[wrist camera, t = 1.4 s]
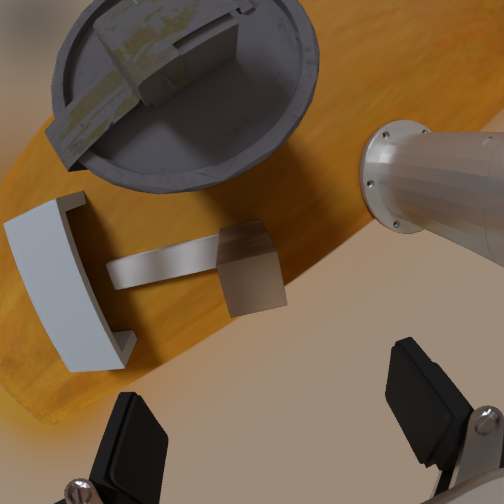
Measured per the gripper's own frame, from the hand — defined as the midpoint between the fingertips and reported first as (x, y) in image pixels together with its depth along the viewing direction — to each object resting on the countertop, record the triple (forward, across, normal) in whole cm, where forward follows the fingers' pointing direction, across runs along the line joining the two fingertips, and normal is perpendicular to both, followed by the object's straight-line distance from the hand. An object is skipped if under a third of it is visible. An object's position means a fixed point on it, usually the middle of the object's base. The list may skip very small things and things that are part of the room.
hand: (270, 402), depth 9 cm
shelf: (+20, +19, 0) cm, 28 cm away
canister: (+20, +1, -12) cm, 24 cm away
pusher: (+20, +7, 0) cm, 21 cm away
